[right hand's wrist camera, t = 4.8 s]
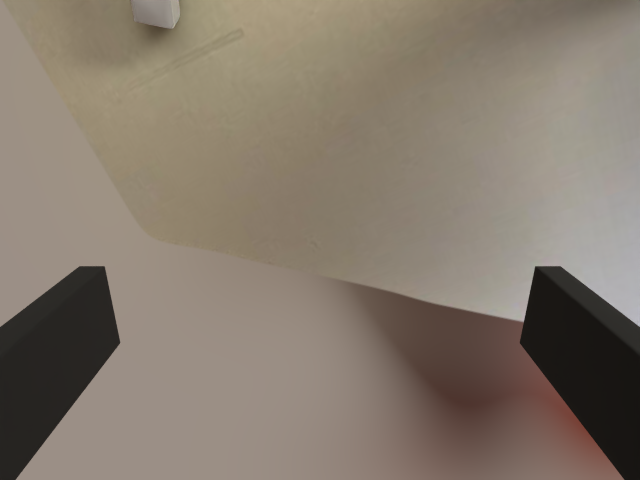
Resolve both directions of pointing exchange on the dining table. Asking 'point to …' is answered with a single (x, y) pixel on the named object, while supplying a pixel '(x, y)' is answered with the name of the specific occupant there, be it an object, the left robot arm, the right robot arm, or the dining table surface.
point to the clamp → (156, 12)
